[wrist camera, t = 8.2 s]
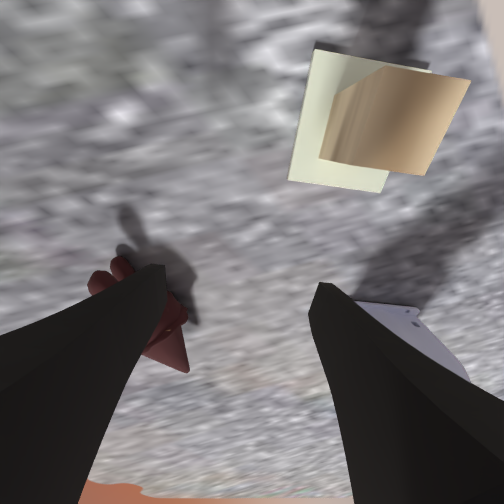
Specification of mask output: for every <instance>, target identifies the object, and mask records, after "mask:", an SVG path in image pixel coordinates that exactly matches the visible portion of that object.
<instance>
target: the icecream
mask: <svg viewBox="0 0 504 504" xmlns="http://www.w3.org/2000/svg"><path fill="white" fill-rule="evenodd" d="M110 269H111V272H112V275H113V276H112V275H111V274H110V273H109V272H107V271H100V270H97V271H95V272H94V273H93V274H92V276H91V278H90V280H89V282H88V284H87V286H88V289H89V292H90V294H91V295H92V296H93V295H95V294H97V293H99V292H101V291H103V290H105V289H106V288H108V287H110V286H112V285H114V284H115V283H117V282H119V281H121V280H123V279H124V278H126V277H128V276H130V275H132V274H133V273H135V271H134V269H133V267H132V266H131V265H130V264H129V262H128V261H127V260H126V259H125V258H123V257H122V256H117V257H115V258H113V259H112V260H111V263H110ZM167 299H168V301H167V303H166V306H165V309H164V311H163V314H162V316H161V319H160V321H159V323H158V325H157V327H156V328H155V330H154V332H153V334H152V336H151V338H150V339H149V341H148V343H147V345H146V347H145V349H144V350H143V352H142V354H141V355H144V356H146V357H148V358H151V359H153V360H155V361H158V362H160V363H162V364H165V365H167V366H169V367H172V368H174V369H176V370H179V371H181V372H184V373H188V372H189V371H190V368H189V363H188V358H187V353H186V348H185V343H184V338H183V333H182V328H181V325H183V324H185V323H186V322H187V320H188V314H187V310H188V308H186V307H184V306H183V305H182V304H180V303H179V302H178V301H177V300H176V299H175V298H174V297H173V294H172V293H171V292H169V291H167Z"/></svg>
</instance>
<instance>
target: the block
mask: <svg viewBox="0 0 504 504" xmlns="http://www.w3.org/2000/svg"><path fill="white" fill-rule="evenodd" d="M470 83H471V81H470V80H465V79H459V78H454V77H448V76H442V75H437V74H431V73H426V72H420V71H414V70H409V69H403V68H397V67H392V66H386V65H385V66H384V67H382V68H380V69H379V70H377V71H375V72H373V73H372V74H370V75H368V76H367V77H365V78H363V79H362V80H360V81H358V82H356V83H355V84H353V85H351V86H350V87H348V88H346V89H344V90H343V91H341V92H339V93H338V94H336V95H334V99H333V103H332V107H331V111H330V114H329V118H328V122H327V126H326V130H325V134H324V138H323V142H322V146H321V150H320V154H319V157H318V159H323V160H328V161H333V162H338V163H342V164H347V165H352V166H359V167H366V168H373V169H380V170H387V171H394V172H401V173H408V174H415V175H422V176H424V175H425V173H426V171H427V169H428V167H429V165H430V163H431V161H432V159H433V157H434V155H435V153H436V151H437V149H438V147H439V145H440V143H441V141H442V139H443V137H444V135H445V133H446V131H447V129H448V127H449V125H450V123H451V121H452V119H453V117H454V115H455V113H456V111H457V109H458V107H459V105H460V103H461V101H462V99H463V97H464V95H465V93H466V91H467V89H468V87H469V85H470Z"/></svg>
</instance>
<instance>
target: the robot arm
mask: <svg viewBox="0 0 504 504" xmlns="http://www.w3.org/2000/svg"><path fill="white" fill-rule="evenodd" d="M167 301H168V299H167V287H166V275H165V265H156V264H150V265H148V266H146V267H144V268H142V269H140V270H139V271H137V272H135V273H133V274H132V275H130V276H128V277H126V278H124V279H123V280H121V281H119V282H117V283H115V284H114V285H112V286H110V287H108V288H106V289H105V290H103V291H101V292H99V293H97V294H95V295H93V296H91V297H89V298H87V299H85V300H83V301H81V302H79V303H77V304H75V305H73V306H71V307H69V308H66V309H64V310H62V311H60V312H58V313H55V314H53V315H51V316H48V317H46V318H44V319H41V320H39V321H37V322H34V323H32V324H29V325H27V326H24V327H21V328H19V329H16V330H14V331H11V332H8V333H6V334H3V335H0V504H78V501H79V499H80V496H81V493H82V490H83V488H84V485H85V482H86V480H87V477H88V475H89V472H90V470H91V467H92V465H93V462H94V459H95V457H96V454H97V452H98V449H99V447H100V444H101V442H102V439H103V437H104V434H105V432H106V430H107V427H108V425H109V422H110V420H111V417H112V415H113V413H114V410H115V408H116V406H117V403H118V401H119V399H120V396H121V394H122V392H123V390H124V387H125V385H126V383H127V381H128V379H129V377H130V375H131V373H132V371H133V369H134V367H135V365H136V363H137V361H138V359H139V358H140V356H141V354H142V352H143V350H144V349H145V347H146V345H147V343H148V341H149V339H150V338H151V336H152V334H153V332H154V330H155V328H156V327H157V325H158V323H159V321H160V319H161V316H162V314H163V311H164V309H165V306H166V303H167ZM419 312H420V310H419V309H418V308H417V307H409V306H399V305H389V304H379V303H369V302H360V301H353V300H352V299H351V298H350V297H348V296H347V295H346V294H345V293H344V292H342V291H341V290H340V289H339V288H338V287H336V286H335V285H333V284H332V283H324V282H319V285H318V287H317V290H316V293H315V296H314V299H313V301H312V304H311V307H310V310H309V313H308V316H309V322H310V327H311V332H312V336H313V339H314V342H315V345H316V348H317V351H318V354H319V357H320V360H321V363H322V366H323V369H324V372H325V375H326V377H327V380H328V383H329V387H330V390H331V394H332V397H333V402H334V406H335V410H336V414H337V418H338V423H339V427H340V432H341V437H342V441H343V446H344V451H345V456H346V461H347V466H348V471H349V477H350V482H351V487H352V493H353V499H354V504H504V401H503V400H501V399H499V398H497V397H495V396H493V395H491V394H490V393H488V392H486V391H484V390H483V389H481V388H479V387H477V386H476V385H474V384H472V383H471V381H470V378H469V376H468V374H467V372H466V370H465V368H464V367H463V365H462V364H461V362H460V361H459V360H458V359H457V358H456V357H455V356H454V355H453V354H452V353H451V351H450V350H449V349H448V348H447V347H446V346H445V345H444V344H443V343H442V342H441V341H440V340H439V339H438V338H437V337H436V336H435V335H434V334H433V333H432V332H431V331H430V330H429V329H428V328H427V327H426V326H425V325H424V324H423V323H422V321H421V320H420V319H419V318H418V317H417V315H418V314H419Z"/></svg>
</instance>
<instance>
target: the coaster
mask: <svg viewBox="0 0 504 504" xmlns="http://www.w3.org/2000/svg"><path fill="white" fill-rule="evenodd" d="M385 65H386V66H392V67H397V68H403V69H409V70H414V71H420V72H426V73H431V72H432V71H429V70H424V69H418V68H413V67H408V66H402V65H397V64H392V63H386V62H381V61H376V60H370V59H365V58H360V57H355V56H349V55H344V54H339V53H333V52H328V51H323V50H317V49H315V50H314V51H313V53H312V57H311V62H310V67H309V72H308V77H307V82H306V87H305V92H304V97H303V101H302V106H301V111H300V116H299V121H298V126H297V131H296V136H295V141H294V146H293V151H292V155H291V160H290V165H289V170H288V175H287V180H292V181H299V182H306V183H313V184H320V185H327V186H334V187H341V188H348V189H355V190H363V191H370V192H377V193H381V190H382V188H383V185H384V183H385V181H386V178H387V176H388V174H389V171H387V170H380V169H373V168H366V167H359V166H352V165H347V164H342V163H338V162H333V161H328V160H323V159H318V157H319V154H320V150H321V146H322V142H323V138H324V134H325V130H326V126H327V122H328V118H329V114H330V111H331V107H332V103H333V99H334V95H336V94H338V93H339V92H341V91H343V90H344V89H346V88H348V87H350V86H351V85H353V84H355V83H356V82H358V81H360V80H362V79H363V78H365V77H367V76H368V75H370V74H372V73H373V72H375V71H377V70H379V69H380V68H382V67H384V66H385Z"/></svg>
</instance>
